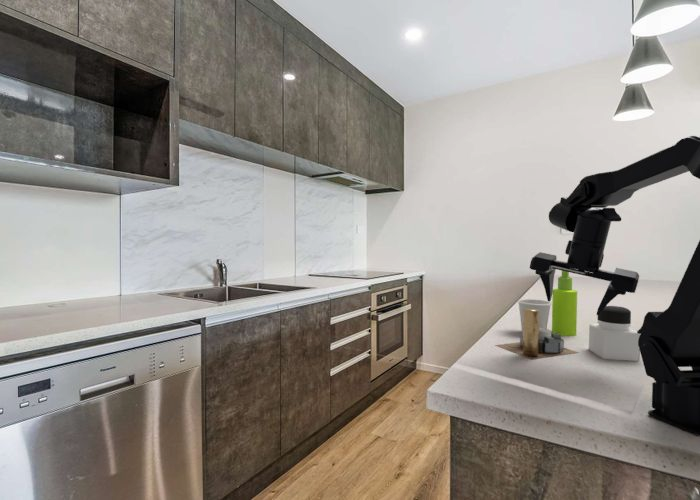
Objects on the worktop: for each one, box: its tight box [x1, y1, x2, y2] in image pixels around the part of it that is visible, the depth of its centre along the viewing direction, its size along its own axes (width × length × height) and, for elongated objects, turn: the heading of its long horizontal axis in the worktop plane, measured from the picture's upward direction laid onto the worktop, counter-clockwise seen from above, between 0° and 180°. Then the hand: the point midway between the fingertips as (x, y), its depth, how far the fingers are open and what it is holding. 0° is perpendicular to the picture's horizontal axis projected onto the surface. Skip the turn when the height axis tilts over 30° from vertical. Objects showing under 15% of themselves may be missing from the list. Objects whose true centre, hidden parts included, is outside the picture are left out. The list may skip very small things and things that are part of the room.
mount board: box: [495, 328, 580, 361], centre depth 84 cm, size 11×14×5 cm
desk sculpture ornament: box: [519, 309, 565, 356], centre depth 83 cm, size 9×14×10 cm, turn 135°
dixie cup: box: [517, 298, 552, 333], centre depth 98 cm, size 8×8×10 cm
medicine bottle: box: [588, 305, 641, 362], centre depth 80 cm, size 7×7×12 cm
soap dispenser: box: [551, 268, 578, 337], centre depth 98 cm, size 6×7×20 cm
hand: (572, 307), depth 76 cm, fingers open, 9 cm apart
